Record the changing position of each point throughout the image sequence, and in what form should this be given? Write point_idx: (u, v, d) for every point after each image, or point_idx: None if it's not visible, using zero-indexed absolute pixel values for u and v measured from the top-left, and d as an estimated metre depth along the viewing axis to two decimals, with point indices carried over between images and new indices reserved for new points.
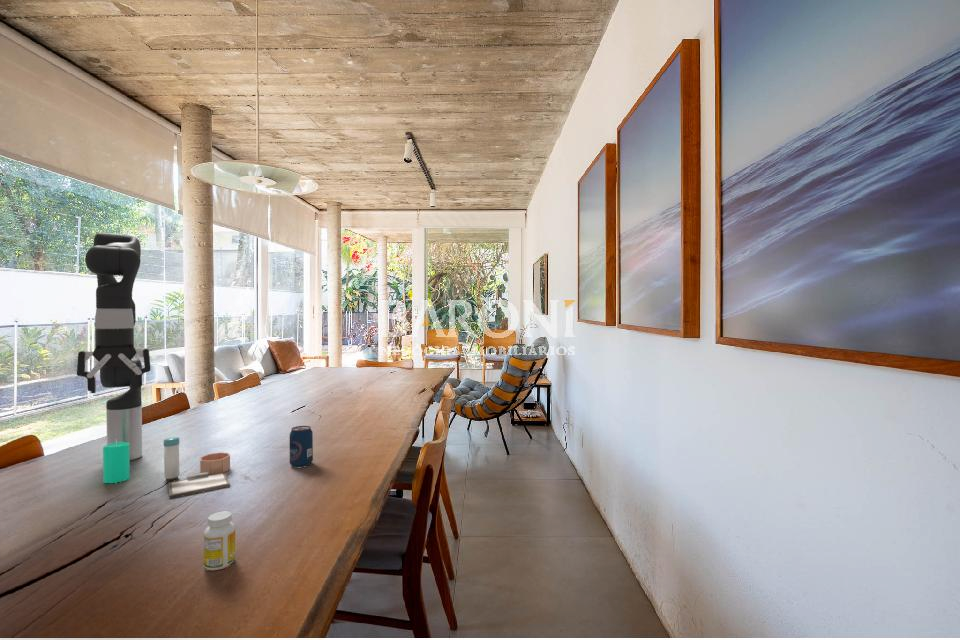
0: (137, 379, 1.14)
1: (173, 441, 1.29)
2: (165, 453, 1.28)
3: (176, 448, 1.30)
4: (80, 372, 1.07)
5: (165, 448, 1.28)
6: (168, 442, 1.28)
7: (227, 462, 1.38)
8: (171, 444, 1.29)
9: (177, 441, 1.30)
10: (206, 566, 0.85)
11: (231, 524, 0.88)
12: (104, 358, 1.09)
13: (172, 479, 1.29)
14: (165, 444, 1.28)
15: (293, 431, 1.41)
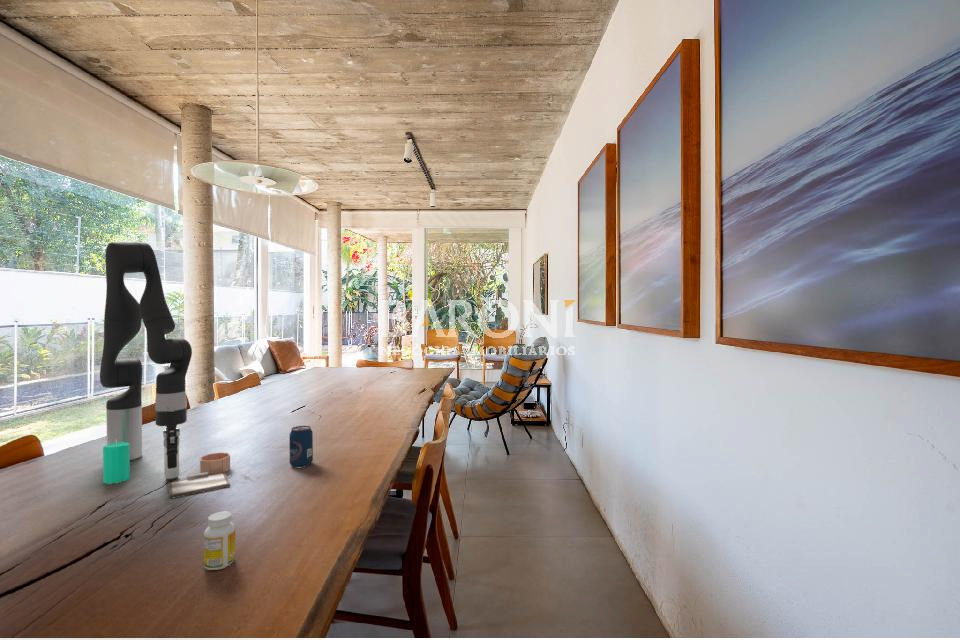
0: None
1: None
2: (165, 453, 1.28)
3: None
4: None
5: (165, 448, 1.28)
6: None
7: (227, 462, 1.38)
8: None
9: None
10: (206, 566, 0.85)
11: (231, 524, 0.88)
12: (179, 434, 1.30)
13: (172, 479, 1.29)
14: None
15: (293, 431, 1.41)
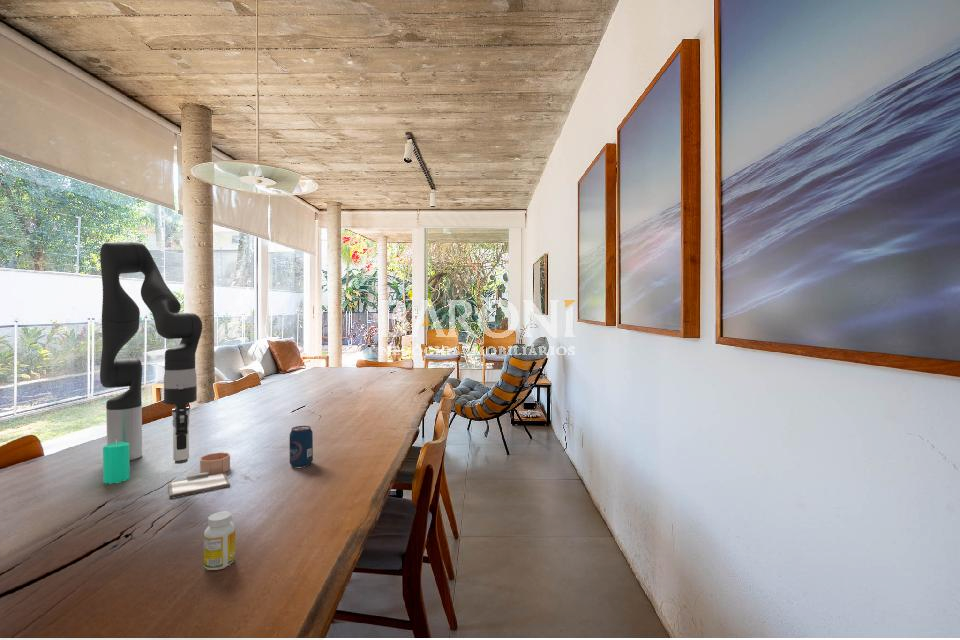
0: None
1: None
2: (174, 433, 1.21)
3: None
4: None
5: (174, 428, 1.21)
6: None
7: (227, 462, 1.38)
8: None
9: None
10: (206, 566, 0.85)
11: (231, 524, 0.88)
12: (189, 414, 1.23)
13: (181, 461, 1.22)
14: None
15: (293, 431, 1.41)
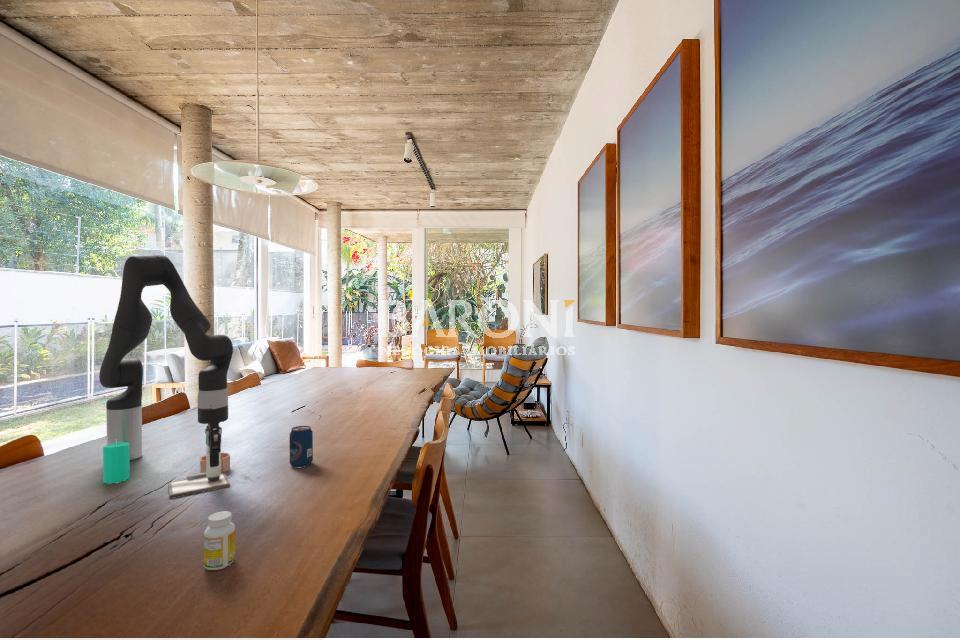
0: None
1: None
2: (208, 451, 1.26)
3: None
4: (220, 449, 1.25)
5: (207, 446, 1.26)
6: None
7: (227, 462, 1.38)
8: None
9: None
10: (206, 566, 0.85)
11: (231, 524, 0.88)
12: (221, 432, 1.27)
13: (214, 478, 1.27)
14: None
15: (293, 431, 1.41)
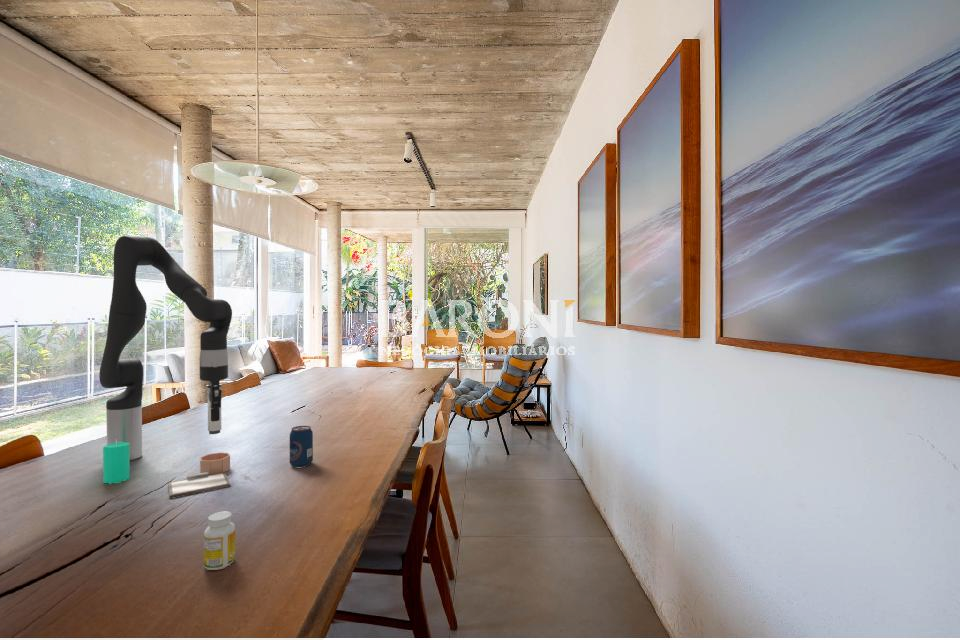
0: None
1: None
2: (209, 407, 1.36)
3: None
4: (220, 404, 1.34)
5: (209, 402, 1.36)
6: None
7: (227, 462, 1.38)
8: None
9: None
10: (206, 566, 0.85)
11: (231, 524, 0.88)
12: None
13: (215, 432, 1.36)
14: None
15: (293, 431, 1.41)
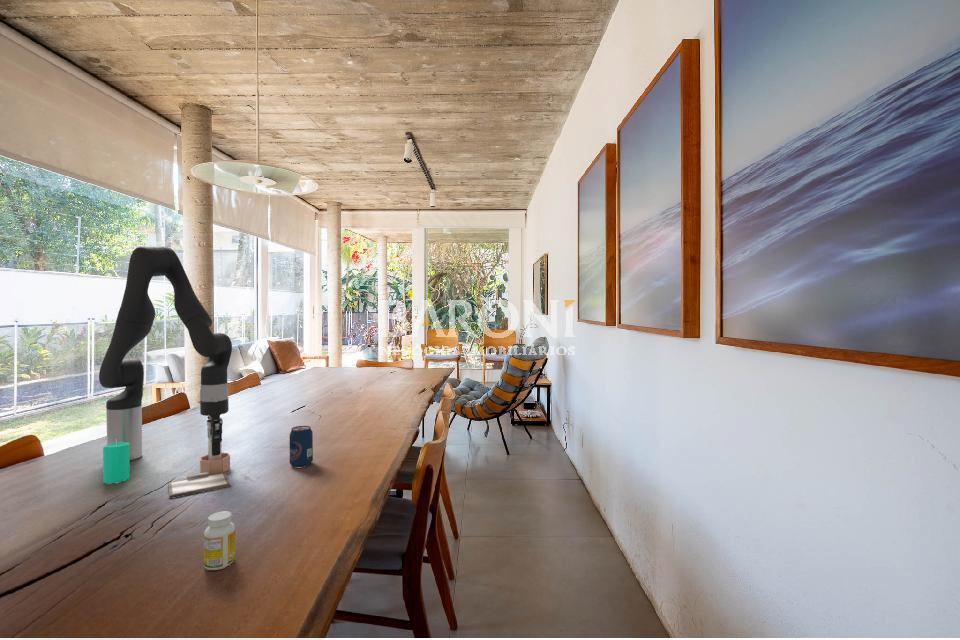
0: None
1: None
2: (209, 444, 1.36)
3: None
4: None
5: (209, 439, 1.36)
6: None
7: (227, 462, 1.38)
8: None
9: None
10: (206, 566, 0.85)
11: (231, 524, 0.88)
12: (222, 423, 1.37)
13: None
14: None
15: (293, 431, 1.41)
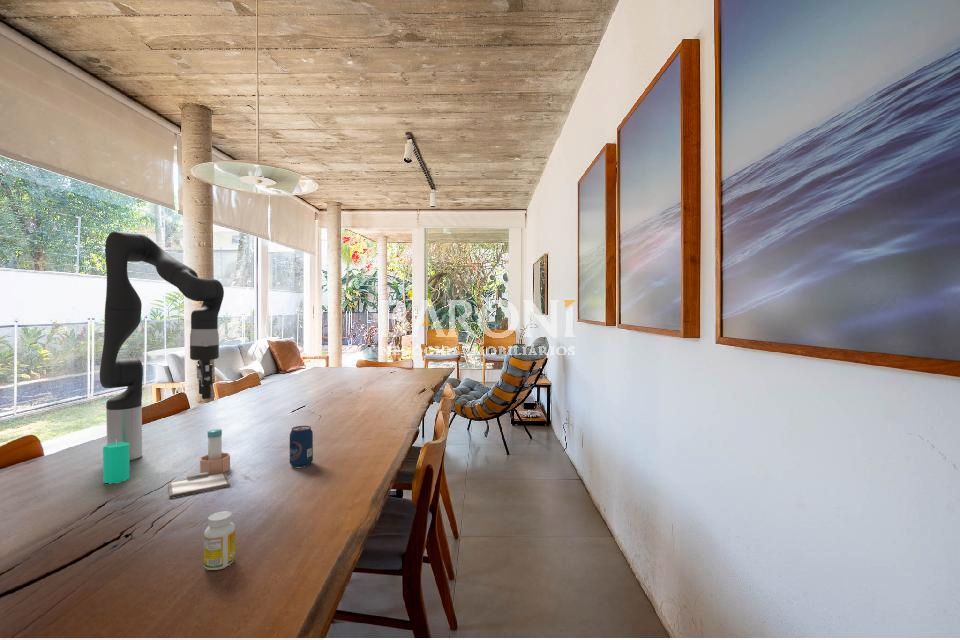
0: None
1: (216, 433, 1.36)
2: (209, 444, 1.36)
3: (219, 439, 1.37)
4: (211, 381, 1.32)
5: (209, 439, 1.36)
6: (212, 434, 1.36)
7: (227, 462, 1.38)
8: (215, 435, 1.36)
9: (220, 433, 1.37)
10: (206, 566, 0.85)
11: (231, 524, 0.88)
12: (212, 368, 1.36)
13: None
14: (209, 435, 1.36)
15: (293, 431, 1.41)
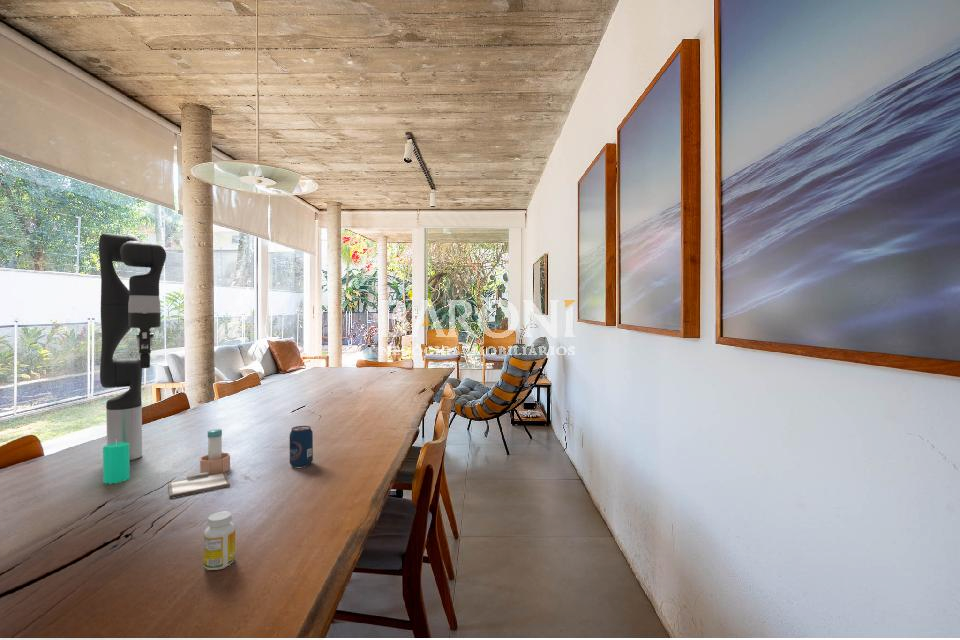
0: None
1: (217, 433, 1.36)
2: (209, 444, 1.36)
3: (219, 439, 1.37)
4: (150, 349, 1.26)
5: (209, 439, 1.36)
6: (212, 434, 1.36)
7: (227, 462, 1.38)
8: (215, 435, 1.36)
9: (220, 433, 1.37)
10: (206, 566, 0.85)
11: (231, 524, 0.88)
12: None
13: None
14: (209, 435, 1.36)
15: (293, 431, 1.41)
